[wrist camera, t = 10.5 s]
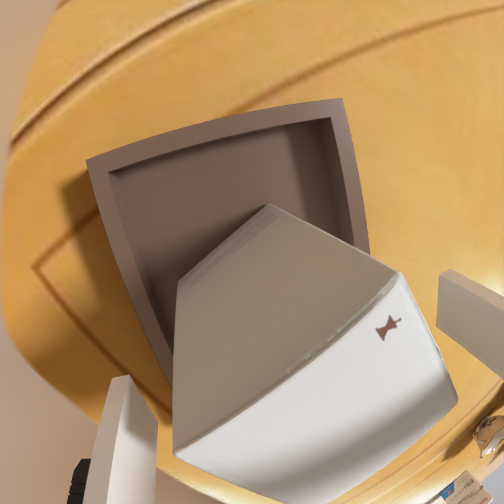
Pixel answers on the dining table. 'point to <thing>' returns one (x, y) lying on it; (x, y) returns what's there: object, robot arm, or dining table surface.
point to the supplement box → (300, 363)
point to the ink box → (466, 491)
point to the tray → (221, 196)
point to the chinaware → (489, 434)
